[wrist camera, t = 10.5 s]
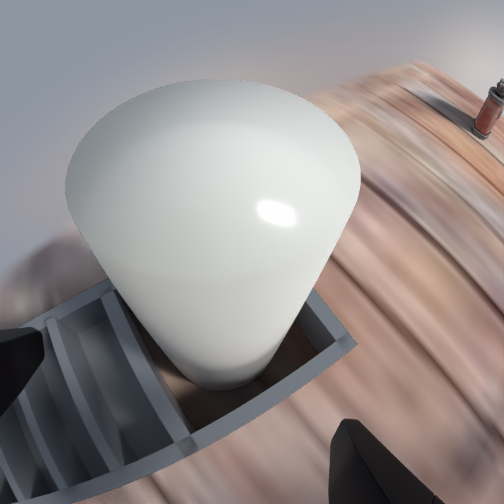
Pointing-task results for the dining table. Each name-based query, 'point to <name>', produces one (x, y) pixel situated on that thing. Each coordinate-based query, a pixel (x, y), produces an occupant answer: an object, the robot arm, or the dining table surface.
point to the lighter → (489, 112)
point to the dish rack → (119, 402)
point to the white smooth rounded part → (214, 216)
